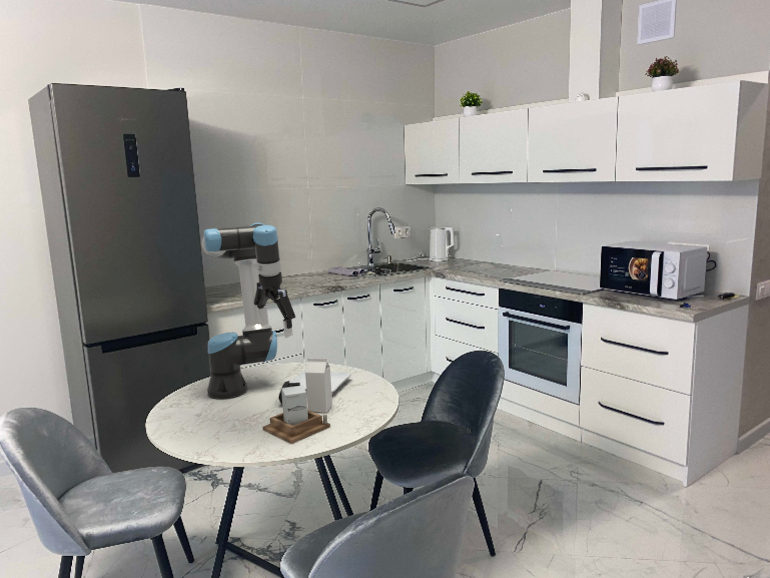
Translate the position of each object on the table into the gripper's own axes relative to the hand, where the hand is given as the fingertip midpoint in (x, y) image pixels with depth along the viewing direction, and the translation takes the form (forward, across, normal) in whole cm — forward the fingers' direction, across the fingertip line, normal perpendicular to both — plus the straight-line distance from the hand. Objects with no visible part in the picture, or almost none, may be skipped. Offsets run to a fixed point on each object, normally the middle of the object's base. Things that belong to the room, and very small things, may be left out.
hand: (276, 330), depth 200 cm
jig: (+29, +16, -8) cm, 34 cm away
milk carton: (+32, +10, +8) cm, 34 cm away
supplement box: (+28, +16, -8) cm, 33 cm away
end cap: (+34, -4, +5) cm, 34 cm away
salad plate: (+37, -8, +22) cm, 44 cm away
